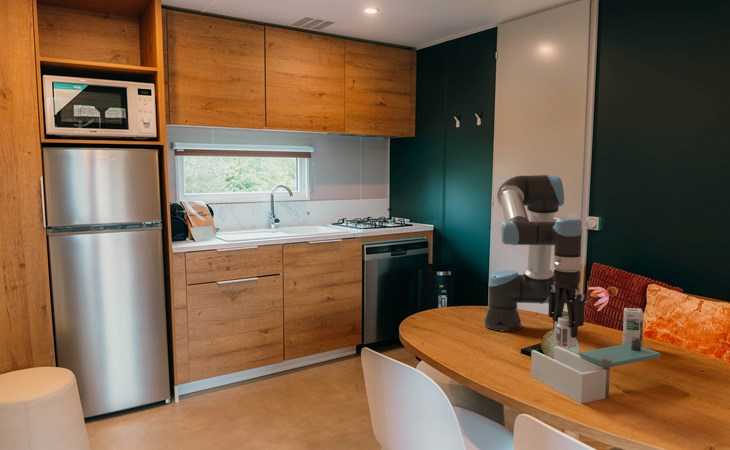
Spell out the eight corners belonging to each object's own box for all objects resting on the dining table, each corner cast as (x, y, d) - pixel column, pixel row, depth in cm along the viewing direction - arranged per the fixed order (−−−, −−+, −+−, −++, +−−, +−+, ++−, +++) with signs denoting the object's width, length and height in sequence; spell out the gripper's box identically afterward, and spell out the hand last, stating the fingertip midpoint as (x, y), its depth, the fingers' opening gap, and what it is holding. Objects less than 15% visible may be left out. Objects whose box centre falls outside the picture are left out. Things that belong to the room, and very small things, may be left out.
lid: (662, 357, 157) (663, 342, 157) (606, 369, 149) (607, 353, 148) (631, 346, 167) (631, 332, 167) (577, 356, 159) (578, 341, 158)
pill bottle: (575, 344, 159) (576, 318, 158) (569, 349, 156) (570, 321, 155) (559, 341, 162) (560, 315, 161) (553, 345, 159) (554, 318, 158)
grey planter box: (557, 371, 171) (557, 345, 170) (610, 397, 151) (611, 369, 150) (530, 376, 167) (531, 350, 166) (581, 404, 147) (582, 375, 146)
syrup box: (624, 349, 190) (626, 311, 188) (622, 344, 195) (623, 306, 193) (642, 351, 188) (644, 312, 186) (639, 346, 193) (641, 308, 192)
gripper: (536, 265, 163) (535, 337, 166) (579, 276, 147) (577, 355, 149) (555, 263, 166) (553, 334, 169) (599, 273, 150) (596, 351, 152)
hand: (564, 344), depth 159 cm, fingers closed on pill bottle, 5 cm apart
